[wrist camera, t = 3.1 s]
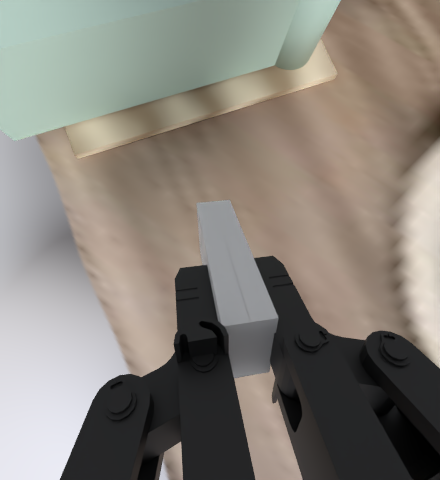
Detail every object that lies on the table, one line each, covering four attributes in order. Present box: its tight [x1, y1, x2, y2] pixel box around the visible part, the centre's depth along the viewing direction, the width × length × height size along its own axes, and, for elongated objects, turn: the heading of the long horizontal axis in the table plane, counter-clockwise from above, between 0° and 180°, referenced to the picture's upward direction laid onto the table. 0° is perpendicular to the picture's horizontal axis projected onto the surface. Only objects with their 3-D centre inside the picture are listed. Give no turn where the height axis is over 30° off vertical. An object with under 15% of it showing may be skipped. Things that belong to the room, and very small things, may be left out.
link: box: [0, 0, 341, 141], centre depth 21 cm, size 28×5×8 cm, turn 112°
